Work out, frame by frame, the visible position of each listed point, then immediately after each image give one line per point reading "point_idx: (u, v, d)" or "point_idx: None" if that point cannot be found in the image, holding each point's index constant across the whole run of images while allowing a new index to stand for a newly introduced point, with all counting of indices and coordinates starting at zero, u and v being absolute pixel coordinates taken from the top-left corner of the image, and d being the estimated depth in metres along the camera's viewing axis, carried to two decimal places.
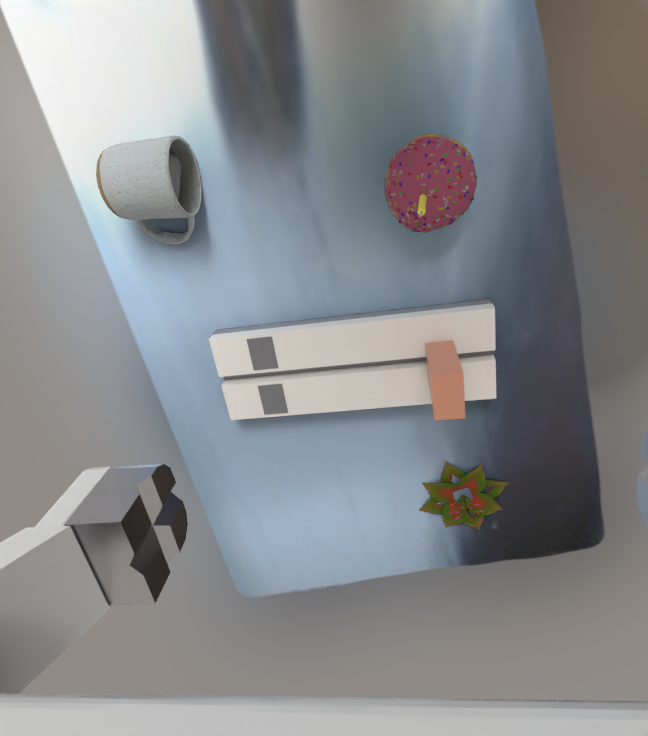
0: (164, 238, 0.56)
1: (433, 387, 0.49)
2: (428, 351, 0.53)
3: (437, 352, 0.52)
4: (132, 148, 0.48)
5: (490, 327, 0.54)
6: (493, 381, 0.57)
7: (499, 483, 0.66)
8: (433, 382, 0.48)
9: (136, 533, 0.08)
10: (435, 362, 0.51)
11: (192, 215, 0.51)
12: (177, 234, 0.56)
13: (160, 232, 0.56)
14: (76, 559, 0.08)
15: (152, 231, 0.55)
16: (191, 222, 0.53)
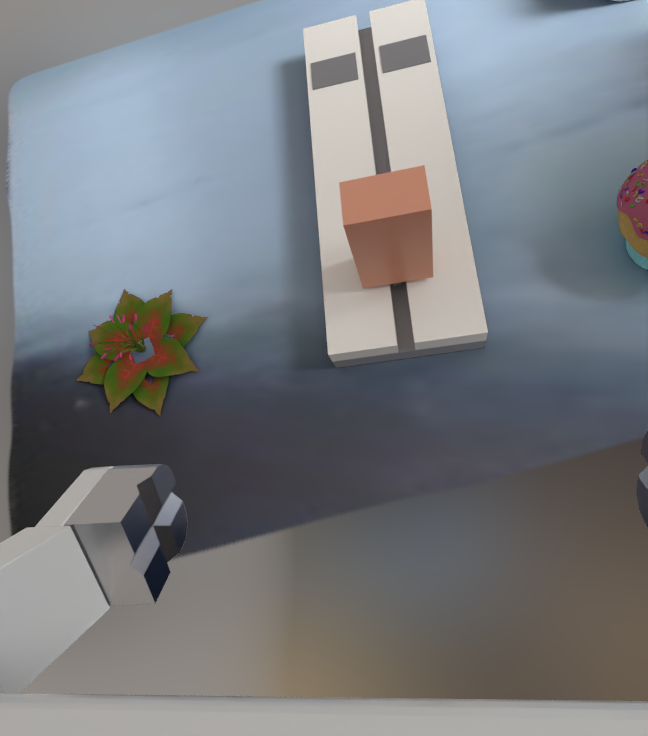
0: None
1: (402, 171, 0.29)
2: None
3: None
4: None
5: (453, 330, 0.34)
6: (358, 347, 0.36)
7: (159, 400, 0.41)
8: (412, 170, 0.29)
9: (136, 533, 0.08)
10: None
11: None
12: None
13: None
14: (76, 559, 0.08)
15: None
16: None
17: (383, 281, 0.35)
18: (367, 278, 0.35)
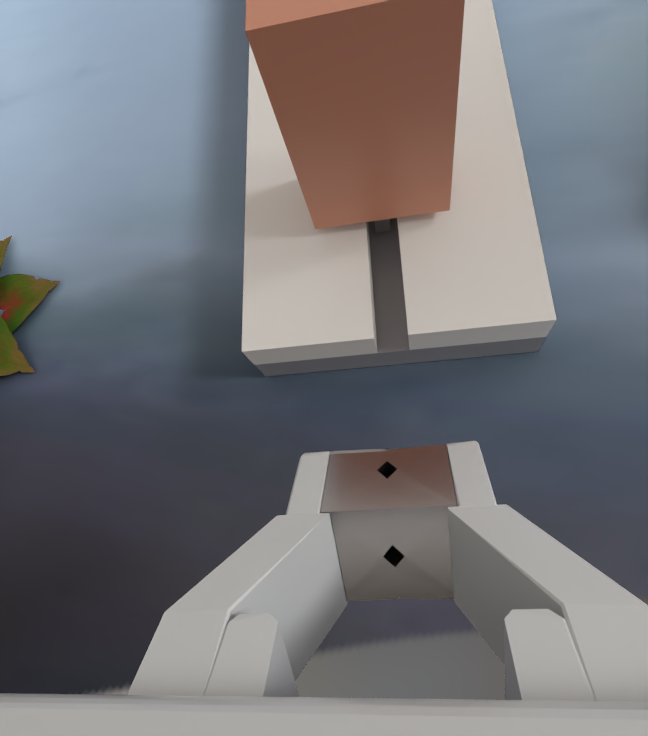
0: None
1: None
2: None
3: None
4: None
5: (487, 313, 0.17)
6: (300, 338, 0.18)
7: None
8: None
9: None
10: None
11: None
12: None
13: None
14: (330, 550, 0.07)
15: None
16: None
17: (352, 213, 0.18)
18: (320, 203, 0.18)
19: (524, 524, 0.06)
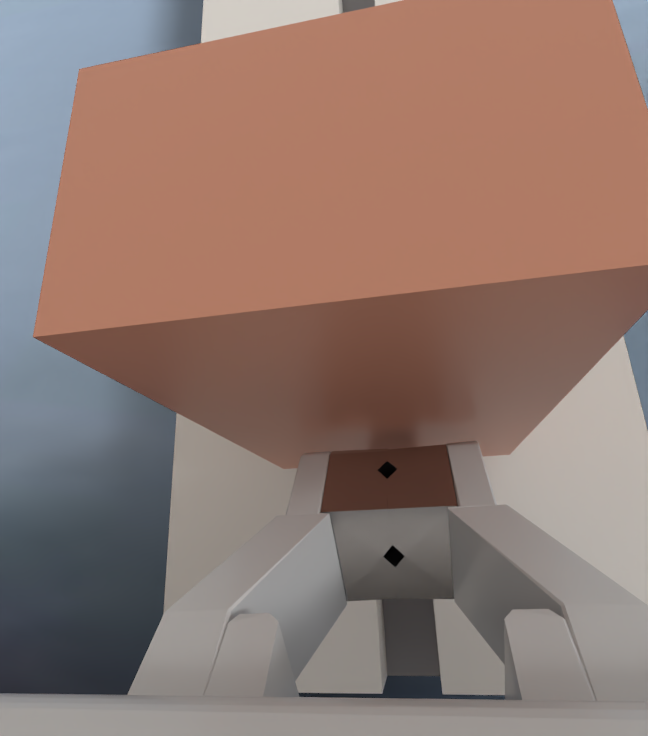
0: None
1: (453, 0, 0.05)
2: None
3: None
4: None
5: None
6: None
7: None
8: None
9: None
10: None
11: None
12: None
13: None
14: (330, 550, 0.07)
15: None
16: None
17: None
18: (288, 457, 0.10)
19: (524, 524, 0.06)
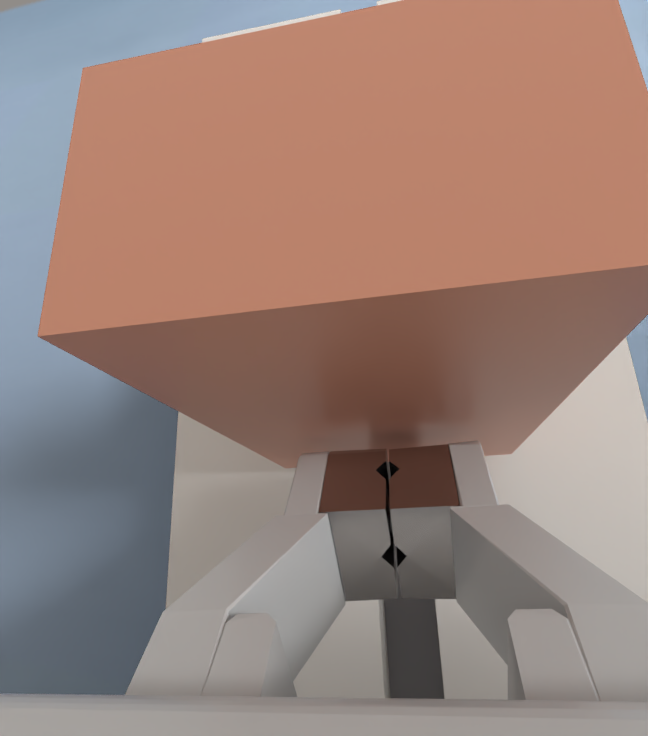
0: None
1: None
2: None
3: None
4: None
5: None
6: None
7: None
8: None
9: (388, 522, 0.07)
10: None
11: None
12: None
13: None
14: (328, 550, 0.07)
15: None
16: None
17: None
18: (291, 457, 0.10)
19: (527, 524, 0.06)
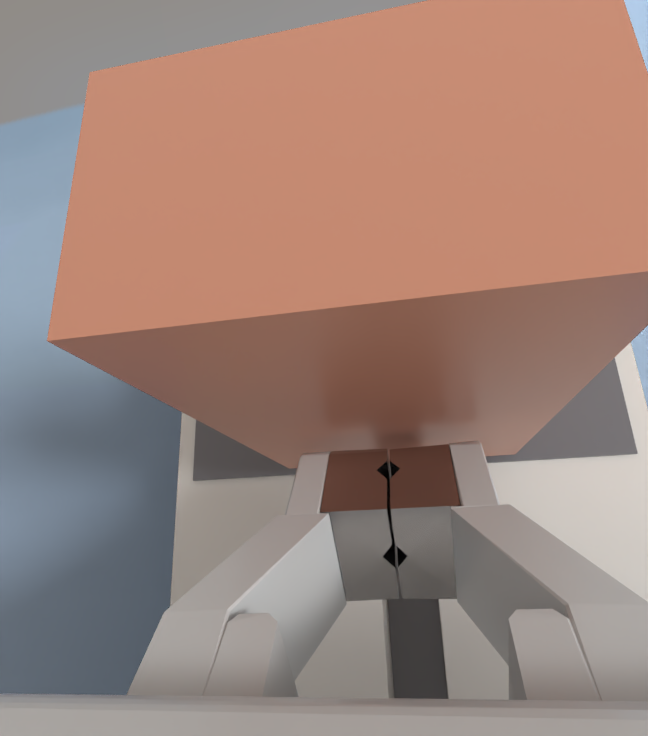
0: None
1: (464, 3, 0.05)
2: None
3: None
4: None
5: None
6: None
7: None
8: None
9: (390, 522, 0.07)
10: None
11: None
12: None
13: None
14: (330, 550, 0.07)
15: None
16: None
17: None
18: (295, 457, 0.10)
19: (527, 524, 0.06)
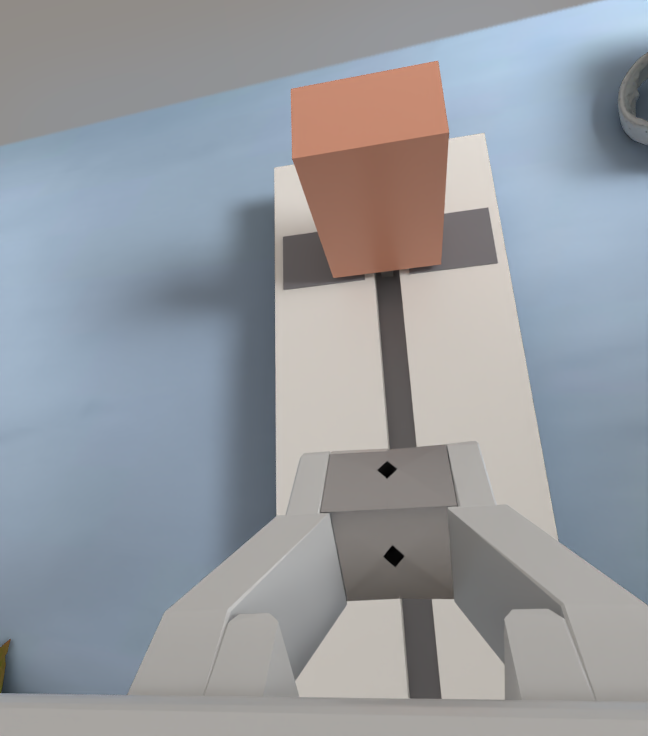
0: (629, 88, 0.27)
1: (400, 71, 0.17)
2: None
3: None
4: None
5: None
6: None
7: None
8: (416, 68, 0.17)
9: None
10: None
11: None
12: (635, 116, 0.27)
13: None
14: (330, 550, 0.07)
15: (645, 67, 0.27)
16: None
17: (364, 267, 0.23)
18: (339, 261, 0.22)
19: (524, 524, 0.06)
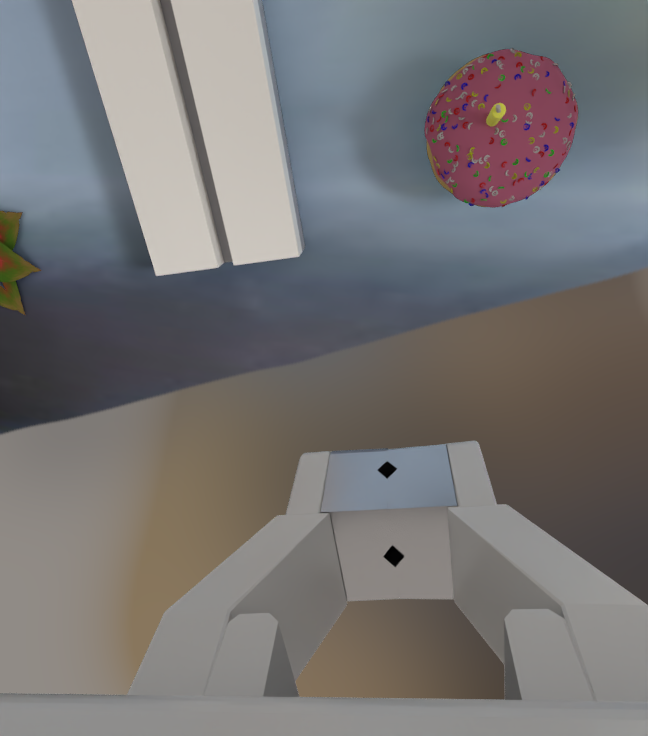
0: None
1: None
2: None
3: None
4: None
5: (268, 253, 0.36)
6: (183, 268, 0.37)
7: (17, 301, 0.43)
8: None
9: None
10: None
11: None
12: None
13: None
14: (330, 550, 0.07)
15: None
16: None
17: None
18: None
19: (524, 524, 0.06)
